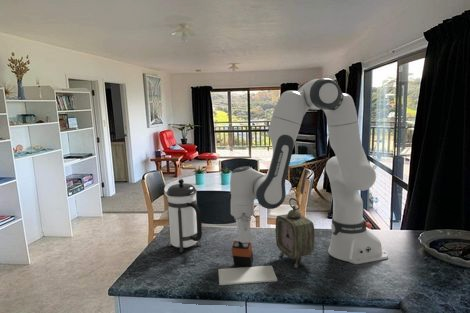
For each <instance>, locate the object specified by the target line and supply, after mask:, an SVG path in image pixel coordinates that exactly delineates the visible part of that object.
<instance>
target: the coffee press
mask: <svg viewBox="0 0 470 313" xmlns="http://www.w3.org/2000/svg"><path fill="white" fill-rule="evenodd" d="M197 191H198V190H197V188H196V187H195V185H193V184H190V183H184V179H183V178H180V179H179V180H178V181H177V183H175V184H172V185H170V186H169V187H168V188H167V191H165V192H166V193H165V194H166V196H167V201H166V202H167V216H168V231H169V232H168V233H169V234H168V235H169V241H168V243H167V247H171V246H173V247H175V248H178V249H179V253H180V254H183V253H184V249H185V248H189V247H192V246H194V245H196V246H198V247H201V246H202V241H201V239H202V237H203V236H202V235H203V234H202V233H203V228H202V226H203V225H202V224H203V223H202V214H201V210H200V208H199V206H198V202H197V201H198V199H197ZM198 242H199V243H198ZM169 243H170V244H169Z"/></svg>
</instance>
